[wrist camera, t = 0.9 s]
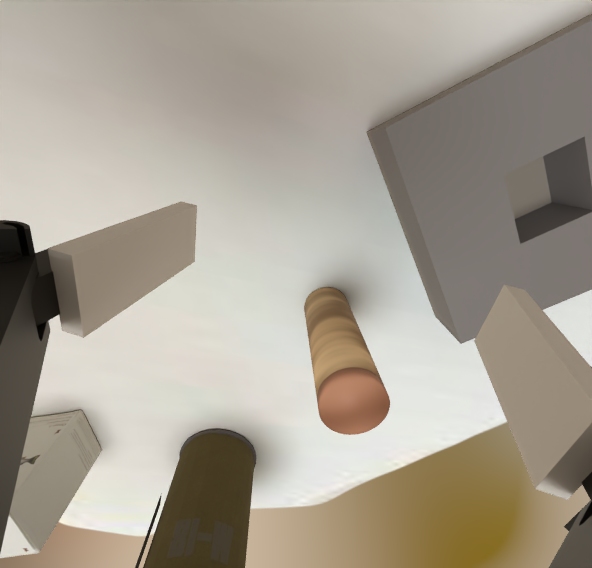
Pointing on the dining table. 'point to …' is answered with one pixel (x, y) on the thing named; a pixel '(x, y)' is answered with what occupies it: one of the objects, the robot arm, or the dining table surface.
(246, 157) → the dining table surface
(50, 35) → the dining table surface
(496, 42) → the dining table surface
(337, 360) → the oak peg
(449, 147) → the socket block
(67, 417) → the supplement box
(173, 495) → the canister
